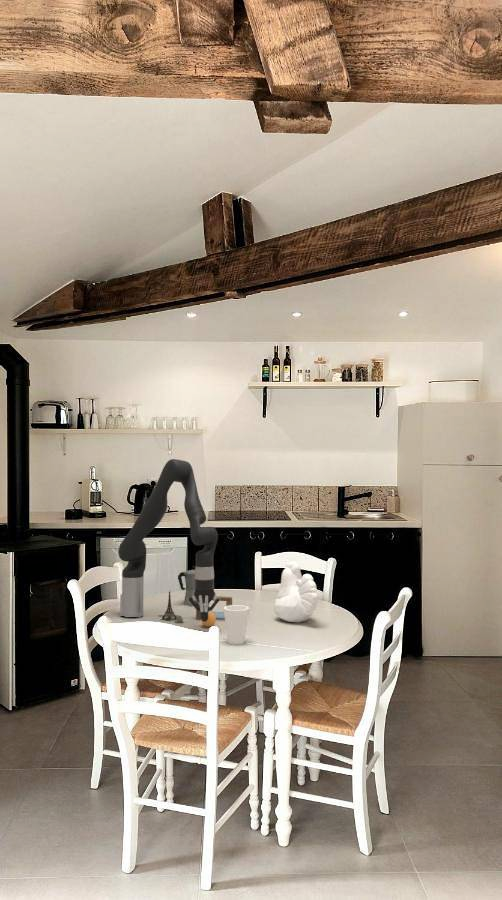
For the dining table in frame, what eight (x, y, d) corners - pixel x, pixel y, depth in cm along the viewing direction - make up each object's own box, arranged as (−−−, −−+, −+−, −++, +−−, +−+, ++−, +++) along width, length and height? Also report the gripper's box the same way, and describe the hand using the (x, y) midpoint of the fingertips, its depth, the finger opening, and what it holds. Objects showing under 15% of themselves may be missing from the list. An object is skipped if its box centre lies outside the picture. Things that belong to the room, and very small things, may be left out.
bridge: (230, 621, 304) (231, 598, 304) (196, 619, 306) (196, 597, 306) (232, 619, 307) (232, 596, 307) (197, 618, 309) (197, 595, 309)
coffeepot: (199, 600, 344) (199, 563, 344) (210, 604, 336) (211, 565, 336) (172, 604, 334) (172, 566, 334) (183, 608, 327) (183, 569, 327)
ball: (199, 628, 292) (199, 613, 292) (202, 624, 298) (202, 610, 298) (214, 628, 291) (214, 614, 291) (216, 625, 297) (217, 610, 297)
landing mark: (201, 617, 309) (201, 617, 309) (207, 611, 321) (207, 611, 321) (228, 619, 307) (228, 618, 307) (233, 612, 319) (233, 612, 319)
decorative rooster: (269, 616, 313) (270, 559, 313) (303, 614, 317) (304, 558, 317) (288, 630, 289) (289, 569, 289) (325, 628, 293) (325, 567, 293)
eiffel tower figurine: (184, 624, 300) (184, 592, 300) (159, 625, 298) (160, 593, 298) (180, 615, 315) (180, 585, 315) (157, 616, 313) (157, 586, 312)
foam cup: (248, 638, 276) (248, 605, 276) (249, 645, 267) (249, 610, 267) (223, 638, 276) (223, 605, 276) (223, 645, 267) (223, 610, 266)
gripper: (186, 578, 282) (186, 622, 282) (219, 579, 280) (219, 623, 280) (190, 575, 290) (190, 618, 290) (222, 576, 288) (222, 619, 288)
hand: (204, 621), depth 285 cm, fingers closed
